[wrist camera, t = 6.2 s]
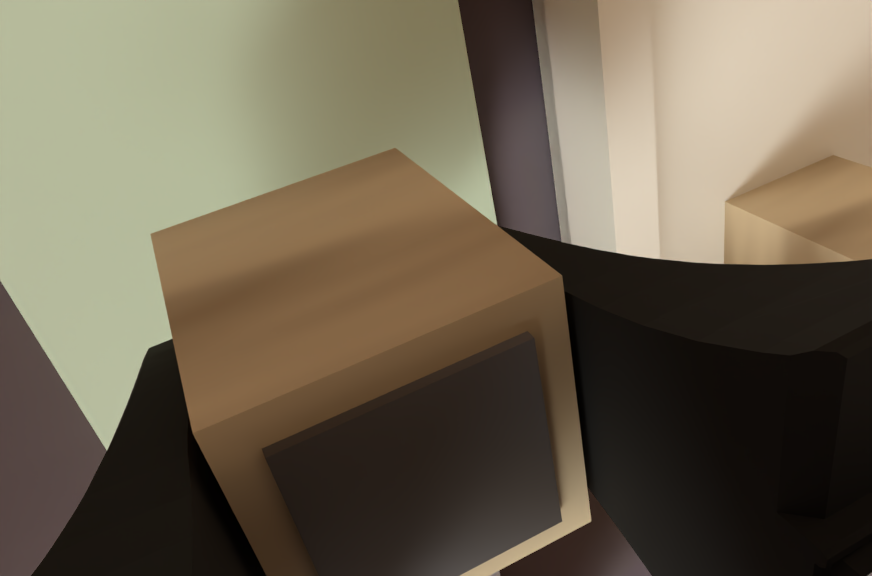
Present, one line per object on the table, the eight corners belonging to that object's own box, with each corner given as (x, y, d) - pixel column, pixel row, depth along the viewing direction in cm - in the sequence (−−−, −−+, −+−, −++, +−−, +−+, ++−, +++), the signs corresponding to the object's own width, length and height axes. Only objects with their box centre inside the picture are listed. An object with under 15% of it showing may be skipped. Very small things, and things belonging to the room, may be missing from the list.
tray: (907, 272, 26) (977, 303, 24) (585, 434, 23) (634, 485, 21) (1060, -573, 15) (1213, -650, 13) (470, -506, 12) (552, -593, 10)
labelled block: (441, 341, 14) (597, 529, 10) (241, 427, 13) (317, 679, 9) (395, 148, 12) (570, 281, 8) (149, 234, 11) (194, 443, 7)
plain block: (821, 268, 23) (977, 344, 19) (722, 316, 22) (865, 406, 18) (833, 154, 21) (1011, 213, 17) (724, 201, 20) (887, 275, 16)
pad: (509, 346, 20) (520, 357, 19) (151, 508, 17) (154, 525, 17) (418, -151, 14) (431, -153, 13) (-166, -6, 11) (-177, -2, 11)
